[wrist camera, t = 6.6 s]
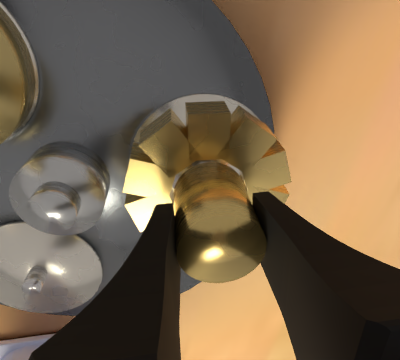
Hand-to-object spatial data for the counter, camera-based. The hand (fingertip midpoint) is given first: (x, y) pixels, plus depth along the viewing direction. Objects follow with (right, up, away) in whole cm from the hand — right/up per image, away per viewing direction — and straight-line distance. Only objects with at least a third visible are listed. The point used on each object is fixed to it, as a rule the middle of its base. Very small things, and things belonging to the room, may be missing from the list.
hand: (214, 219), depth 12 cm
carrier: (-7, +2, +5) cm, 9 cm away
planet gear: (0, +2, +3) cm, 3 cm away
